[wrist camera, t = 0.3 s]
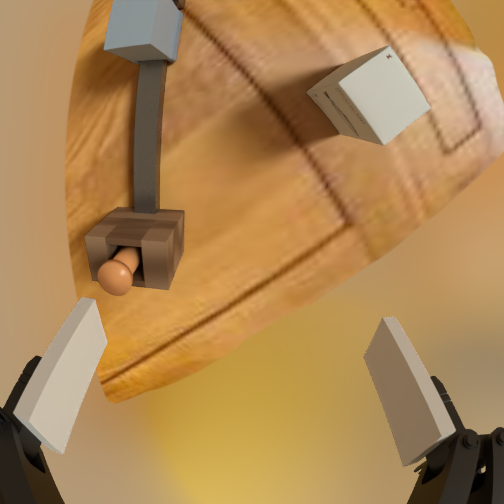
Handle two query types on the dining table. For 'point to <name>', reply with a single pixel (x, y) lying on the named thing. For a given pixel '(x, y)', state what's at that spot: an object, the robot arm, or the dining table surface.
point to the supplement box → (370, 97)
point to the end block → (140, 244)
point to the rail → (149, 132)
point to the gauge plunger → (120, 270)
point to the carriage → (144, 30)
